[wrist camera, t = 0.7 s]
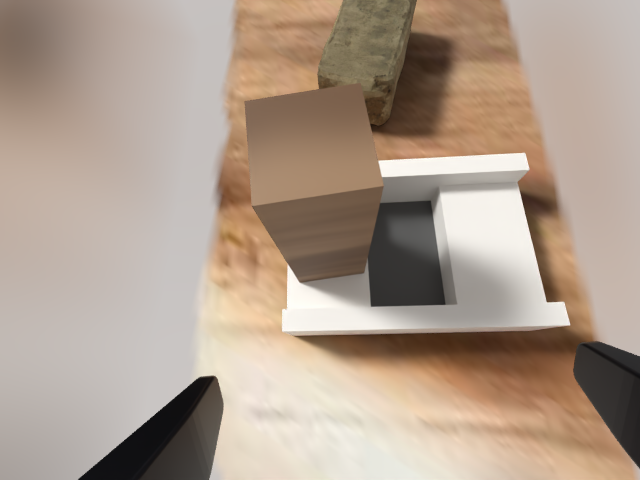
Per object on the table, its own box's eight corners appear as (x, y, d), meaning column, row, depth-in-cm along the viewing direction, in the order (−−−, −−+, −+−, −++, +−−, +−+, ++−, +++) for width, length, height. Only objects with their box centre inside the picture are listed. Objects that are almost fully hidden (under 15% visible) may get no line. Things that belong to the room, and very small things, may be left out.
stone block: (411, 31, 30) (423, -29, 25) (386, 135, 27) (395, 88, 22) (349, 24, 31) (350, -36, 26) (317, 123, 27) (312, 76, 23)
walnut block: (364, 273, 20) (383, 185, 10) (299, 282, 20) (251, 206, 10) (353, 214, 21) (360, 82, 11) (292, 223, 22) (244, 101, 11)
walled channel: (529, 330, 21) (570, 325, 17) (293, 335, 22) (281, 331, 18) (497, 184, 24) (525, 152, 20) (294, 194, 25) (285, 165, 21)
